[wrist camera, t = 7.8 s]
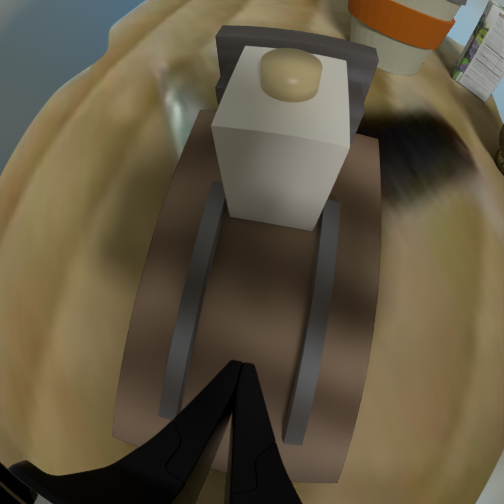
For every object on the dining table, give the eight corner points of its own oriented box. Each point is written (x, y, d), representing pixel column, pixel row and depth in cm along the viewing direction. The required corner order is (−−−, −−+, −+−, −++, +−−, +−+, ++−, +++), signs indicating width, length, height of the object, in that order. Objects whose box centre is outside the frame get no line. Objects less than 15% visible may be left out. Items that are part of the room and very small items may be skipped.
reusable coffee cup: (397, 35, 27) (422, -43, 13) (447, 91, 23) (495, 1, 9) (319, 27, 26) (331, -69, 12) (363, 82, 23) (401, -45, 8)
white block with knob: (312, 231, 17) (359, 126, 8) (229, 216, 17) (206, 102, 8) (320, 152, 18) (350, 42, 10) (249, 141, 19) (244, 26, 10)
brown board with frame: (333, 476, 13) (384, 556, 4) (118, 432, 14) (31, 476, 5) (374, 146, 20) (415, 61, 11) (202, 118, 21) (181, 26, 13)
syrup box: (453, 65, 26) (487, -4, 12) (485, 88, 25) (524, 24, 11) (451, 78, 24) (491, 0, 10) (486, 105, 23) (532, 33, 9)
